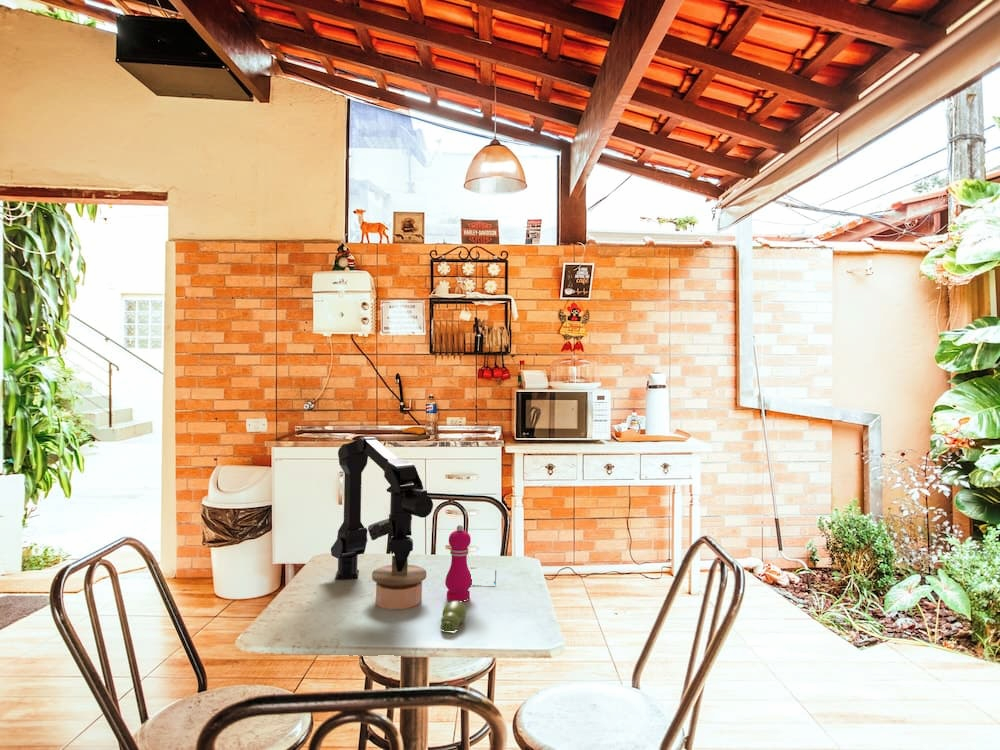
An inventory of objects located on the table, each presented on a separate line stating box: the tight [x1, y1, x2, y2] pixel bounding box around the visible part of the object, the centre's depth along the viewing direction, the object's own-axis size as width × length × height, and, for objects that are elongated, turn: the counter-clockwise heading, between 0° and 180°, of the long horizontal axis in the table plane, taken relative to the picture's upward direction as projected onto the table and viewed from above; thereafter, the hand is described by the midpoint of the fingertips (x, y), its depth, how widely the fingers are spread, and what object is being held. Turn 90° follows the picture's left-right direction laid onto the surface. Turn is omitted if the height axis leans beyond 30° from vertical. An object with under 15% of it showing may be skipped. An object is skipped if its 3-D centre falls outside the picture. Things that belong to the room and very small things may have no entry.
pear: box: [440, 600, 467, 631], centre depth 146 cm, size 6×5×10 cm
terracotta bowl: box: [375, 581, 423, 610], centre depth 162 cm, size 12×12×5 cm
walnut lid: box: [371, 555, 427, 586], centre depth 162 cm, size 14×14×5 cm
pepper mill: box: [444, 524, 472, 602], centre depth 164 cm, size 7×7×20 cm
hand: (399, 568), depth 162 cm, fingers closed on walnut lid, 4 cm apart
